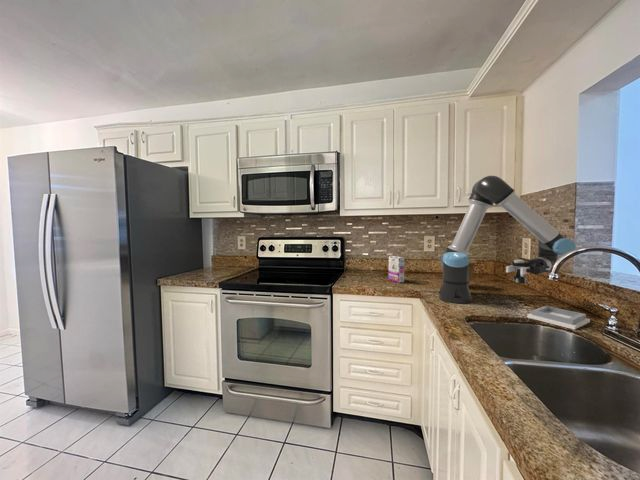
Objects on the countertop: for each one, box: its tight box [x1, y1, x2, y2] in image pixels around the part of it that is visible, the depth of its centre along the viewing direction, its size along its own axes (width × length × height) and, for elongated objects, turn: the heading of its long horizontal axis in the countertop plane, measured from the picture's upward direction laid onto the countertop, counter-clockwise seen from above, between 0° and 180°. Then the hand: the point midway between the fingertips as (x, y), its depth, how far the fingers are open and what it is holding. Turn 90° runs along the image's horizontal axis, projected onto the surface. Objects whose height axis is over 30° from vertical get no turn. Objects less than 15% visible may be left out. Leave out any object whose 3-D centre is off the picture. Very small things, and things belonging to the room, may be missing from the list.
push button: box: [511, 259, 527, 285], centre depth 122 cm, size 7×5×10 cm
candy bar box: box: [387, 255, 406, 284], centre depth 182 cm, size 11×5×16 cm, turn 23°
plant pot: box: [468, 259, 476, 285], centre depth 166 cm, size 15×15×16 cm
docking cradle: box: [526, 305, 591, 330], centre depth 110 cm, size 15×15×3 cm
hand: (514, 270), depth 119 cm, fingers closed on push button, 5 cm apart
